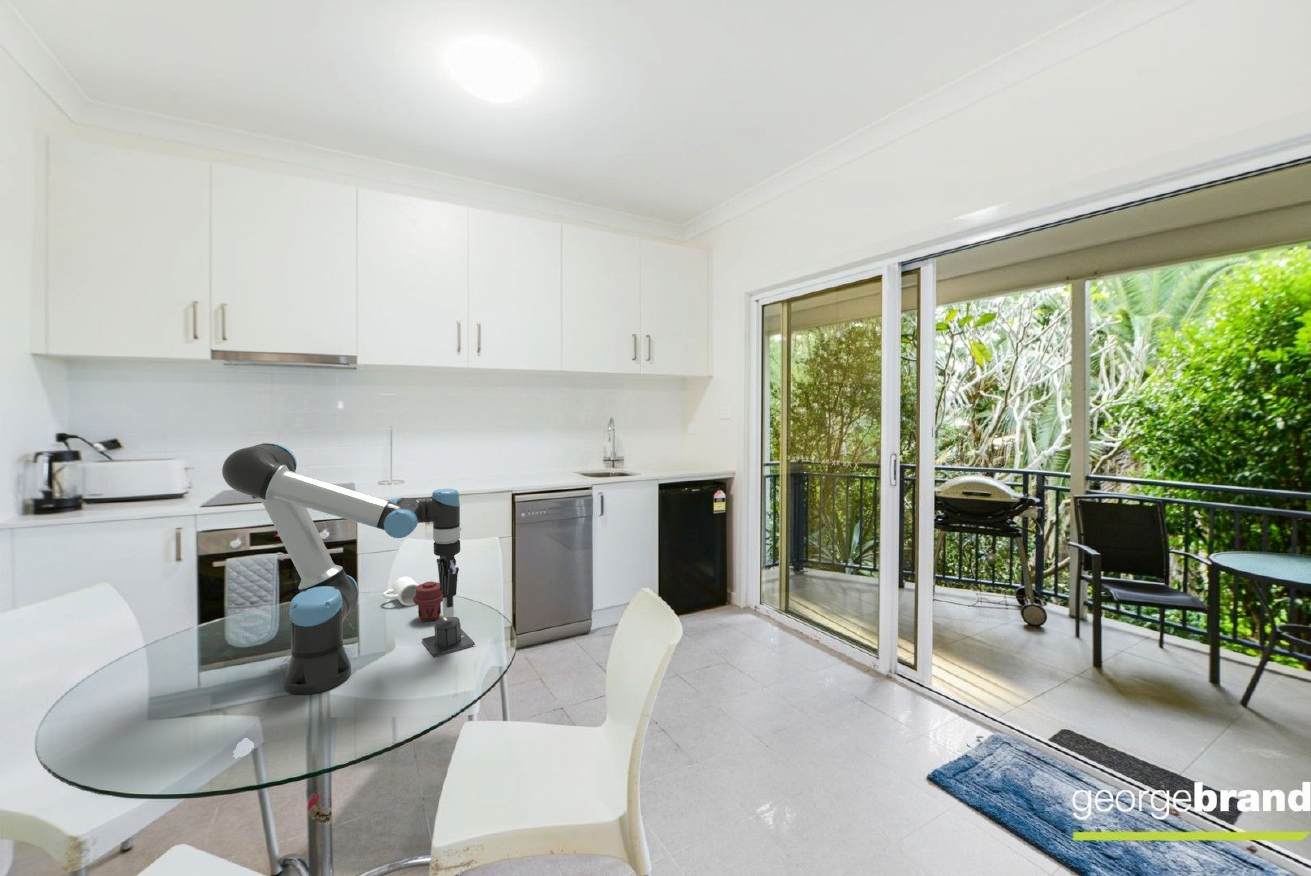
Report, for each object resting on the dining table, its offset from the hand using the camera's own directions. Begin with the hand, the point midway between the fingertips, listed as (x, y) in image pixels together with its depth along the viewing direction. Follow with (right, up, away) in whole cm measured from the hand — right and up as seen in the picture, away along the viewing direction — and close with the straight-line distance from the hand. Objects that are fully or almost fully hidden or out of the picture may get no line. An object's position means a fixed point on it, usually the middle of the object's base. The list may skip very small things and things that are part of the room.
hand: (448, 615), depth 165 cm
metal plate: (0, -9, +1) cm, 9 cm away
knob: (0, -8, +1) cm, 8 cm away
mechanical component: (-13, -7, +18) cm, 24 cm away
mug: (-29, -6, +31) cm, 43 cm away
